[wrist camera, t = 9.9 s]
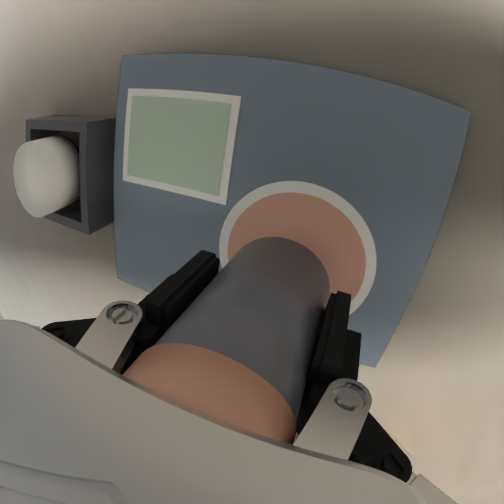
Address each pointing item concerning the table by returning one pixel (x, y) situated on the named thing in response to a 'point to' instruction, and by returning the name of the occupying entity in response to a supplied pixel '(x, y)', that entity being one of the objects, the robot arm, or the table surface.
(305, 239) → the picture board
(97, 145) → the button housing
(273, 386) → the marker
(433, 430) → the table surface
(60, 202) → the button
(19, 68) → the table surface
